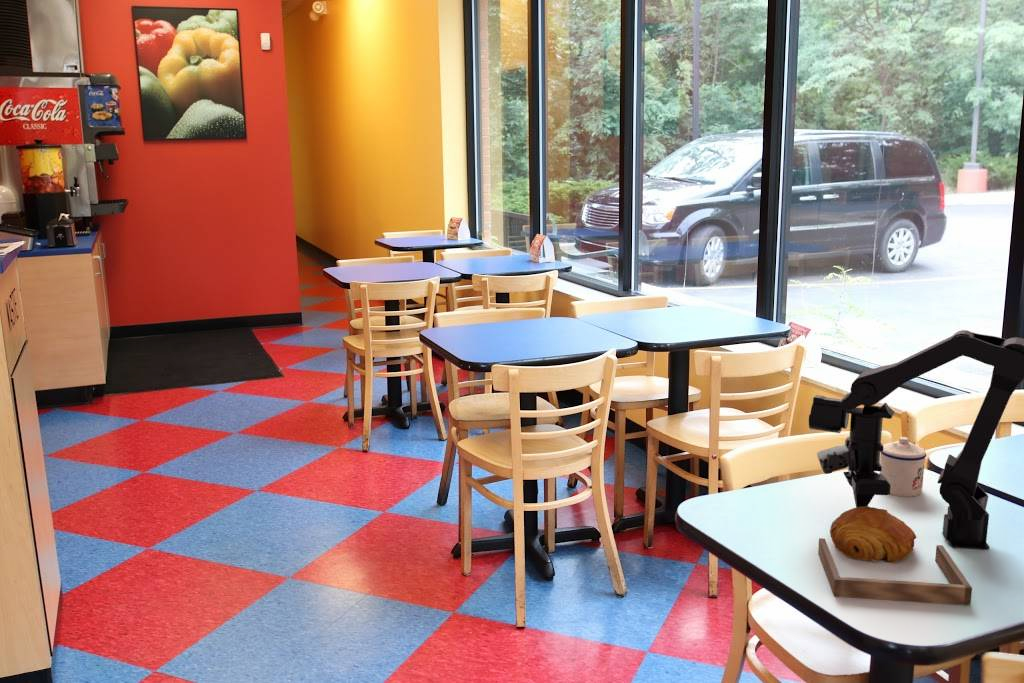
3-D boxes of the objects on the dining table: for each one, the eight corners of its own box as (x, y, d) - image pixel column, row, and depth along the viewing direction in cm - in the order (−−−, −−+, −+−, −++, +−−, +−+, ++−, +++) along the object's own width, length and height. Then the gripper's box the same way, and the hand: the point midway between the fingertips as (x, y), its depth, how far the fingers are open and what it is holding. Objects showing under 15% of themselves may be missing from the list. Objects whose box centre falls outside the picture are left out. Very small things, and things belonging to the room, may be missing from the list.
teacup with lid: (921, 500, 186) (926, 447, 184) (874, 493, 190) (878, 441, 188) (925, 481, 196) (929, 431, 194) (880, 475, 201) (884, 425, 198)
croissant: (818, 561, 165) (816, 522, 162) (850, 523, 175) (849, 487, 173) (899, 583, 155) (899, 542, 153) (927, 541, 166) (928, 503, 164)
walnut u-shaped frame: (941, 560, 159) (942, 545, 158) (970, 605, 144) (972, 588, 143) (818, 553, 162) (819, 538, 162) (833, 596, 147) (835, 579, 146)
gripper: (814, 420, 183) (810, 492, 186) (830, 450, 165) (825, 529, 168) (871, 422, 181) (866, 495, 184) (893, 452, 163) (887, 532, 166)
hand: (859, 512), depth 176 cm, fingers closed
